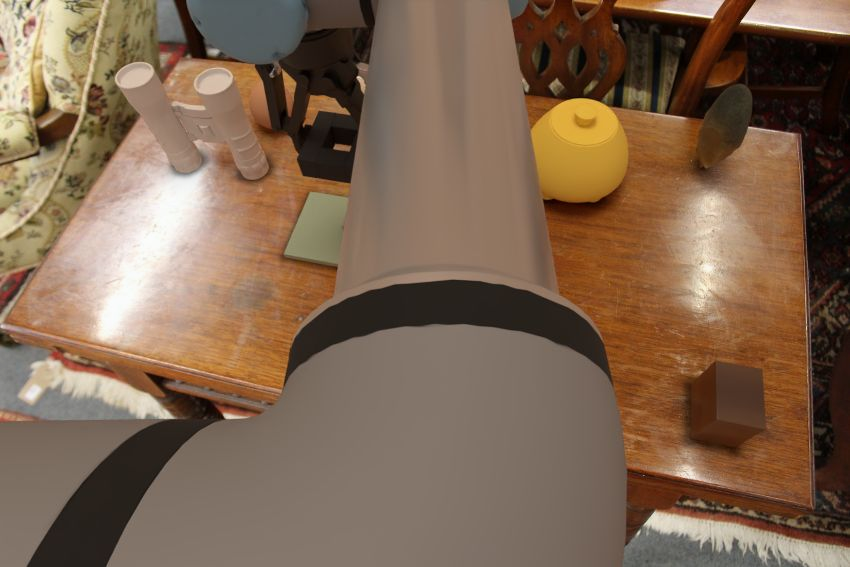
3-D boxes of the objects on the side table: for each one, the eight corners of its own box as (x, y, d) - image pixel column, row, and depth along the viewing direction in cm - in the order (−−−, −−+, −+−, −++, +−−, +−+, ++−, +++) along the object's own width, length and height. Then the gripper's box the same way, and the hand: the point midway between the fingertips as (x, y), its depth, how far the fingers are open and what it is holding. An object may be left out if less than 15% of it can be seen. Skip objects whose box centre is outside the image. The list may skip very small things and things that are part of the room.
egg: (306, 127, 96) (293, 87, 89) (267, 145, 94) (251, 106, 87) (289, 102, 99) (275, 62, 92) (251, 119, 98) (234, 79, 90)
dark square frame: (366, 186, 65) (362, 169, 63) (302, 176, 67) (296, 159, 64) (384, 136, 69) (381, 118, 67) (323, 128, 71) (318, 110, 68)
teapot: (488, 212, 85) (493, 148, 73) (493, 137, 92) (498, 68, 81) (623, 220, 83) (650, 155, 71) (617, 142, 90) (641, 72, 79)
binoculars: (275, 158, 93) (238, 68, 77) (265, 183, 90) (225, 95, 74) (179, 149, 95) (124, 60, 79) (167, 173, 92) (107, 86, 77)
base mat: (401, 278, 80) (399, 266, 77) (285, 257, 83) (278, 244, 80) (421, 212, 85) (420, 198, 82) (311, 195, 88) (306, 180, 85)
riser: (734, 448, 66) (766, 429, 59) (689, 438, 67) (716, 419, 60) (732, 392, 69) (762, 368, 62) (690, 384, 70) (715, 360, 63)
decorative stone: (684, 141, 90) (722, 63, 77) (724, 149, 89) (769, 71, 76) (678, 186, 85) (717, 112, 72) (719, 195, 84) (767, 121, 71)
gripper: (425, -5, 51) (435, 164, 71) (219, -25, 55) (283, 141, 74) (405, 49, 48) (420, 210, 67) (185, 23, 51) (262, 184, 71)
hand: (348, 174), depth 71 cm, fingers closed on dark square frame, 8 cm apart
